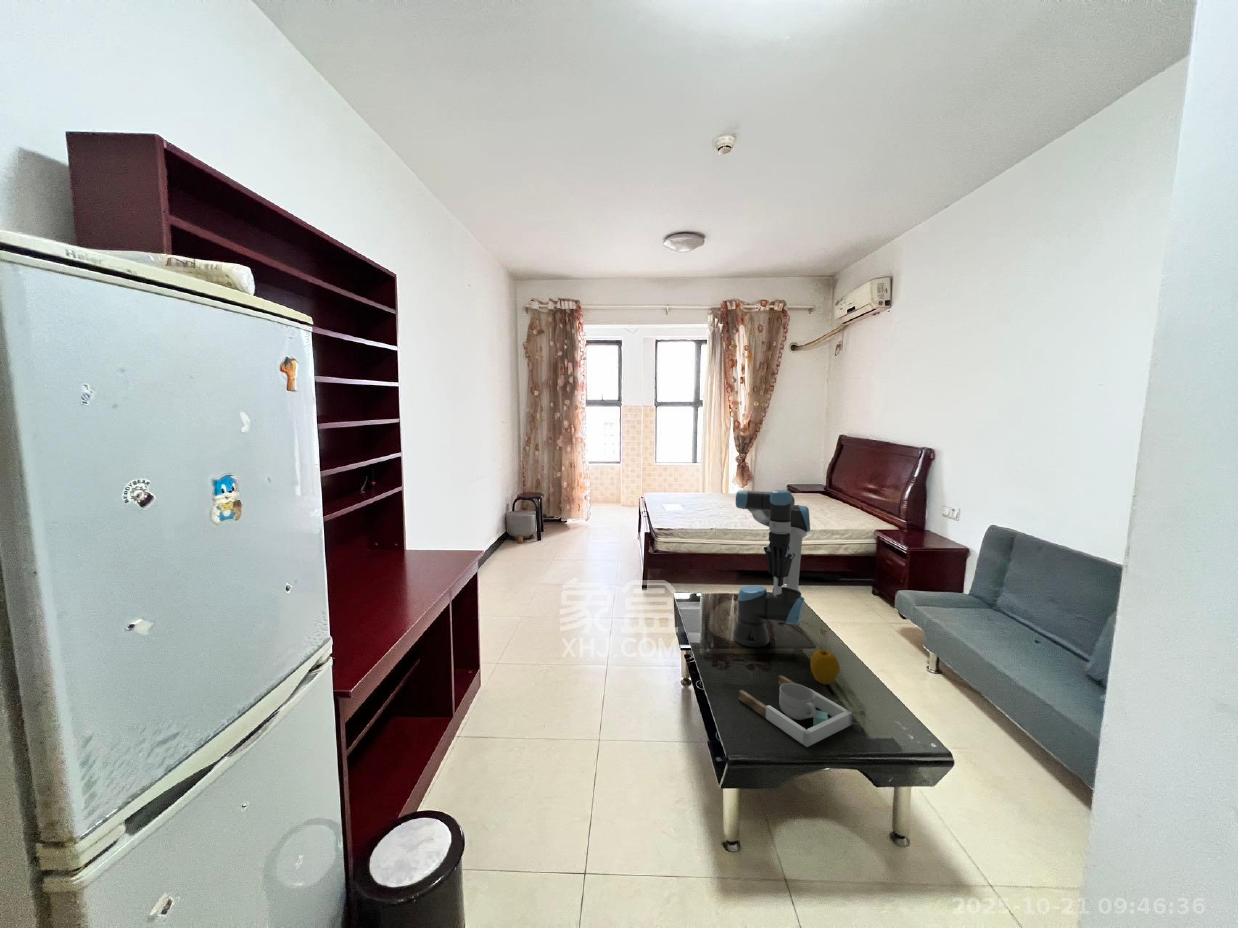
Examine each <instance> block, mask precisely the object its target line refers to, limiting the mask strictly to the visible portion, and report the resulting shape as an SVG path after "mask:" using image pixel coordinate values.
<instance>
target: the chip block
mask: <svg viewBox="0 0 1238 928" xmlns="http://www.w3.org/2000/svg"><path fill="white" fill-rule="evenodd" d="M828 715H829V714H828V712H824V711H822V710H820V709H819V710H817V709H816V715H815V716H814V717H812V718H813V719H812V727H813V726H815V725H817V724H819V723H821V722H824V721H826V720H828V719H829V717H828Z"/></svg>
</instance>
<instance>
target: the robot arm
mask: <svg viewBox="0 0 1238 928" xmlns="http://www.w3.org/2000/svg"><path fill="white" fill-rule="evenodd" d="M735 506H736V508H737V509H740V510H741V509H742V510H747V511H749V513H751V515H752V518H753V519H754V520H755V521H756V522H757V523H759V524H760V525H761V524H762V525H763V526H766V527H768V530H769V532H768V541H769V543H768V545H767V546H764V547H763V551H764V553H765V558H766V566H767V571H768V573H769V574H771V575H772V580H771V581H772V584H773V587H772V591H771V592H769V591H768V590H767V588H766V587H765V586H762V585H758V584H756V585H754V584H753V585H746V586H743V587H741V588H739V590H738V598H737V606H738V607H737V621H736V624H735V627H734V629H733V633H732V635H733V636H732V637H733V640H734V642H736V643H738V644H739V645H741V646H745V647H752V648H761V647H765V646H767V645H768V644H770V643H769V642H770V635H769V633H768V629H767V625H766V620H767V621H771V622H777V623H782V624H786V625H794V626H795V625H798V624H800V622H801V619H802V617H803V613H804V606H805V597H803V596H802V592H801V591H800V590H799V580H800V579H799V578H800V569H801V559H802V549H803V548H802V547H803V546H802V545H803V538H805V537H806V536H807V533H809V532H811V520H810V519H811V518H810V509H809V507H808V506H806V505H799V504H795V496H793V494H792V492H791V491H790V490H785V489H780V490H779V489H773V490H772V491H759V490H747V489H745V490H737V492H736V494H735Z"/></svg>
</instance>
